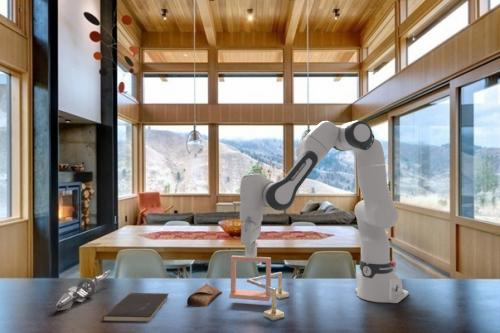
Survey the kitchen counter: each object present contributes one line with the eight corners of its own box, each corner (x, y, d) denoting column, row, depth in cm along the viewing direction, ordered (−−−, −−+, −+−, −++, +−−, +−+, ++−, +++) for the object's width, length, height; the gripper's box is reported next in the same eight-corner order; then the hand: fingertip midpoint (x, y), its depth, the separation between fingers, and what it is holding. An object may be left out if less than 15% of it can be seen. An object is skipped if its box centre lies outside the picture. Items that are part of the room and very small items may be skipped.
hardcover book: (168, 299, 139) (168, 293, 139) (149, 323, 116) (150, 316, 116) (128, 298, 139) (128, 292, 139) (102, 322, 116) (102, 315, 116)
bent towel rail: (280, 293, 145) (280, 270, 145) (315, 306, 130) (315, 280, 130) (239, 304, 132) (239, 278, 132) (273, 320, 117) (273, 291, 117)
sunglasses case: (208, 307, 129) (199, 290, 130) (192, 315, 130) (184, 298, 131) (223, 291, 146) (215, 277, 147) (209, 299, 148) (202, 284, 149)
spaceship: (121, 266, 156) (105, 259, 157) (70, 302, 121) (50, 293, 122) (115, 282, 157) (100, 275, 158) (63, 322, 122) (43, 313, 123)
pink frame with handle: (233, 293, 137) (233, 241, 137) (271, 295, 134) (271, 243, 134) (229, 298, 131) (229, 244, 131) (269, 301, 128) (269, 246, 128)
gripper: (254, 219, 122) (254, 259, 122) (263, 213, 143) (263, 247, 142) (236, 218, 124) (236, 258, 123) (248, 213, 144) (248, 247, 143)
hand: (250, 252), depth 133 cm, fingers closed on pink frame with handle, 3 cm apart
